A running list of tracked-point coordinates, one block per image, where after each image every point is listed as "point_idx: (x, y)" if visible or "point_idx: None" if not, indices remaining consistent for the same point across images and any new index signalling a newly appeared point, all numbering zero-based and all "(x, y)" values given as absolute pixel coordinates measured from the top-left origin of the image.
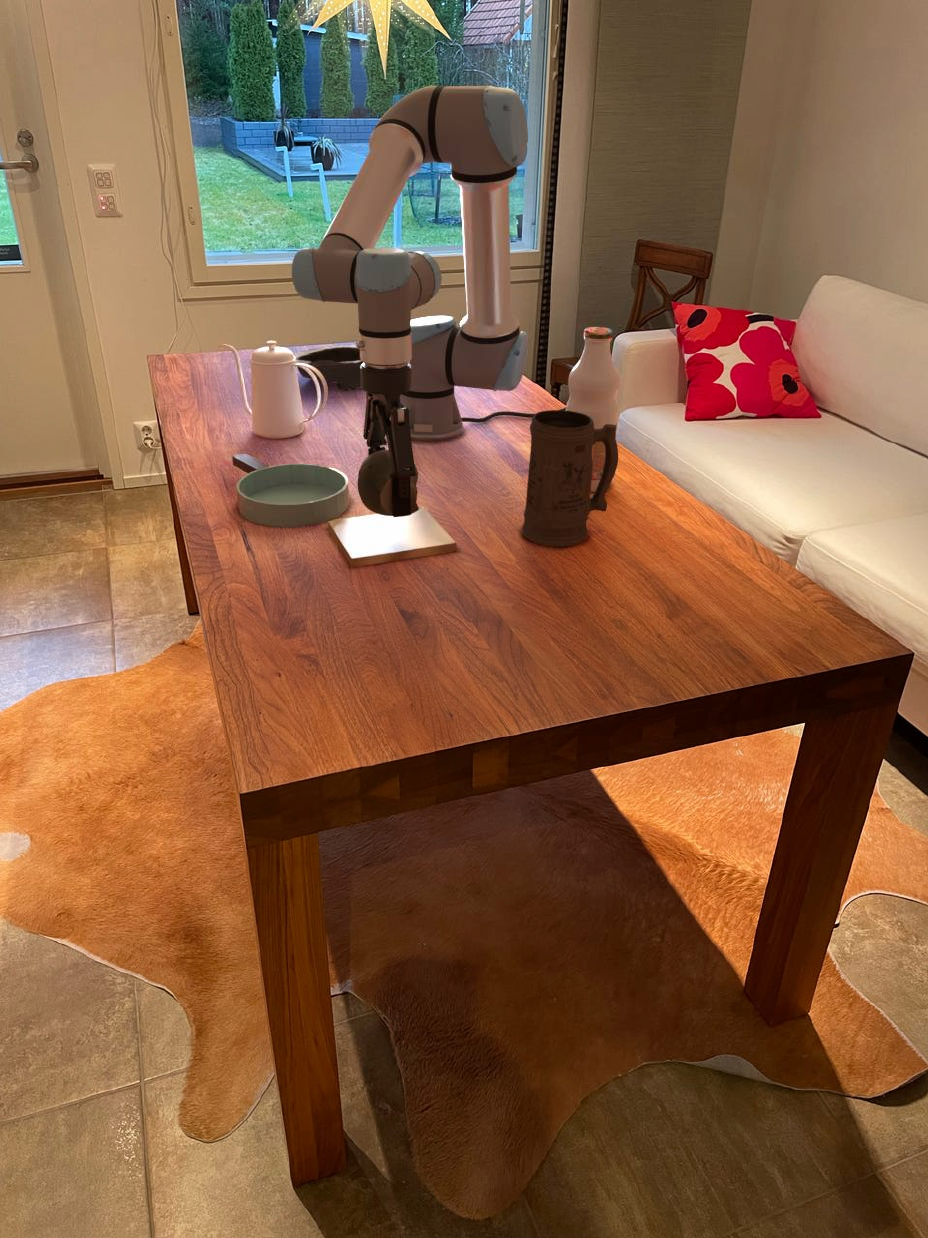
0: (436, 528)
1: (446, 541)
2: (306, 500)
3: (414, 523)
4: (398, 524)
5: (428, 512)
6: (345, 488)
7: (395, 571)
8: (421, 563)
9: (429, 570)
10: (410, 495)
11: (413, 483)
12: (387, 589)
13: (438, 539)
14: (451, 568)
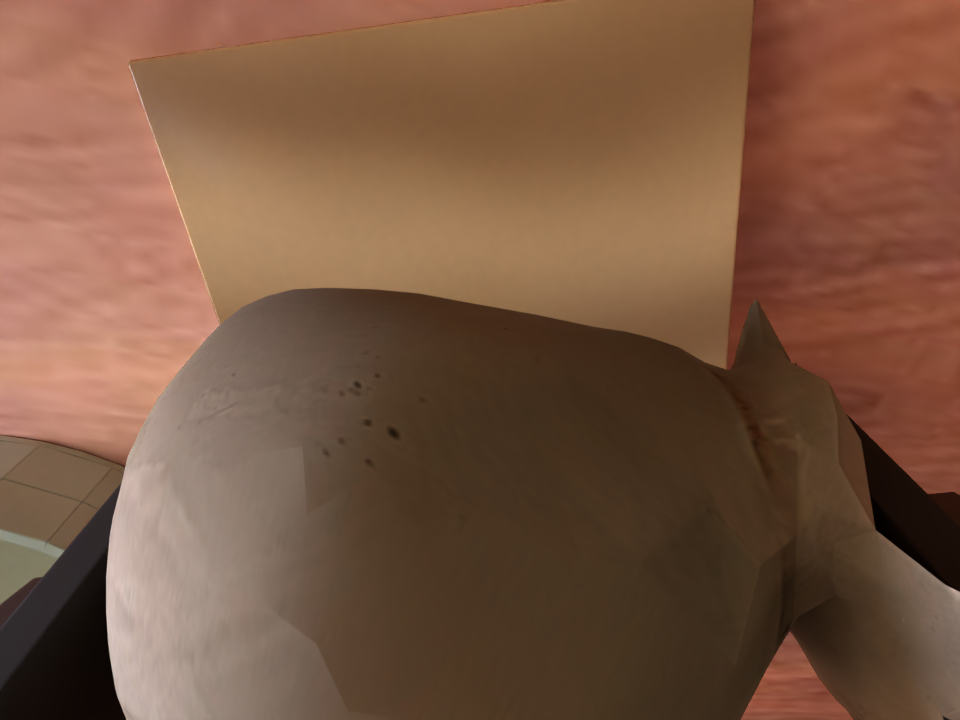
0: (496, 62)
1: (711, 42)
2: (19, 587)
3: (392, 192)
4: (394, 286)
5: (220, 56)
6: (21, 530)
7: (811, 357)
8: (789, 226)
9: (883, 202)
10: (890, 459)
11: (698, 415)
12: (950, 413)
13: (663, 91)
14: (926, 73)
